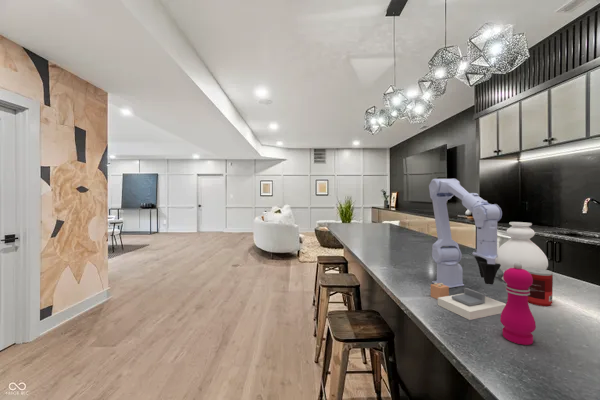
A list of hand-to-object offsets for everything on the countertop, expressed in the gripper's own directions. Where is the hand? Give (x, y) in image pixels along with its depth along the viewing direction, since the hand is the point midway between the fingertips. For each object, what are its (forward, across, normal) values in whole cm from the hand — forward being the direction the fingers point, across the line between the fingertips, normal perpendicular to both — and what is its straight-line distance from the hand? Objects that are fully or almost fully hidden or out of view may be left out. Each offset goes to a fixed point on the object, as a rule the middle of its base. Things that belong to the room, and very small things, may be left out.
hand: (486, 280), depth 93 cm
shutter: (+6, +6, -6) cm, 10 cm away
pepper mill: (+9, +22, +3) cm, 24 cm away
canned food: (+9, -10, +17) cm, 21 cm away
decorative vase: (+9, -35, +18) cm, 40 cm away
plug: (+8, -2, -14) cm, 17 cm away
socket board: (+8, +5, -5) cm, 11 cm away
